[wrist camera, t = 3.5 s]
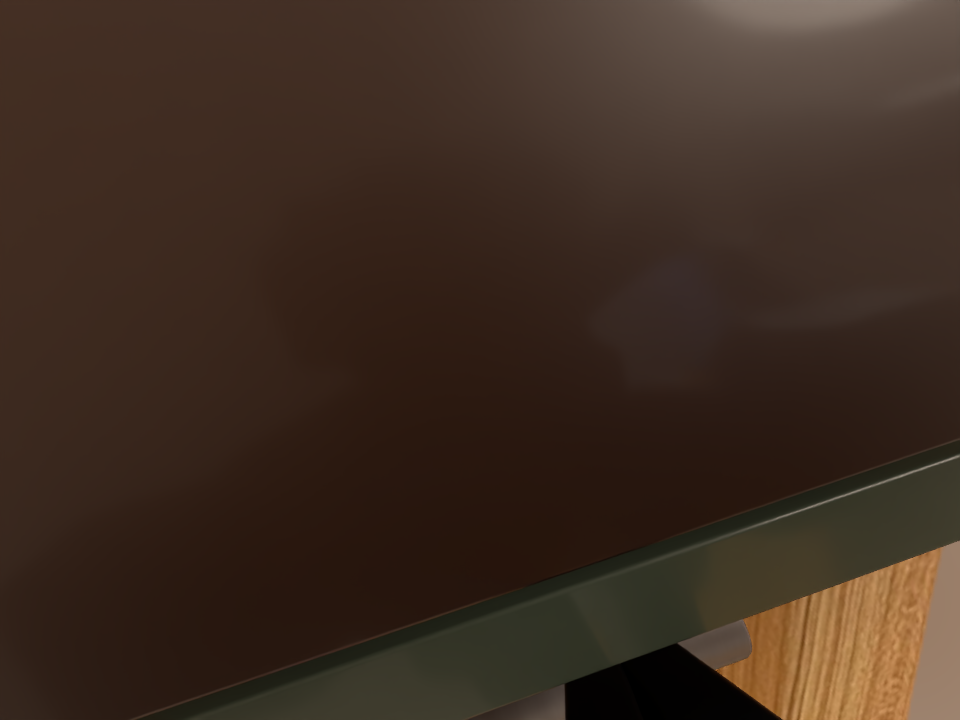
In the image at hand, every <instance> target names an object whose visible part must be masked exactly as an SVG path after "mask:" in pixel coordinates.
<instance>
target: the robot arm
mask: <svg viewBox="0 0 960 720" xmlns="http://www.w3.org/2000/svg"><path fill="white" fill-rule="evenodd" d="M564 692H565V720H782V719H781V718H780V717H778V716H777V715H776V714H774V713H773V712H771V711H770V710H769V709H767V708H766V707H765V706H763V705H762V704H760V703H759V702H758V701H756V700H755V699H754V698H752V697H751V696H749V695H748V694H747V693H745V692H744V691H743V690H741V689H740V688H739V687H737V686H736V685H734V684H733V683H732V682H730V681H729V680H728V679H726V678H725V677H723V676H722V675H721V674H719V673H718V672H717V671H715V670H714V669H712V668H711V667H710V666H708V665H707V664H706V663H704V662H703V661H701V660H700V659H699V658H697V657H696V656H695V655H693V654H692V653H691V652H689V651H688V650H686V649H685V648H684V647H682V646H681V645H680V644H678V643H676V644H673V645H670V646H667V647H665V648H662V649H659V650H656V651H654V652H651V653H648V654H645V655H642V656H640V657H637V658H634V659H631V660H629V661H626V662H623V663H620V664H618V665H615V666H612V667H609V668H607V669H604V670H601V671H598V672H596V673H593V674H590V675H587V676H585V677H582V678H579V679H576V680H574V681H571V682H568V683H565V684H564Z"/></svg>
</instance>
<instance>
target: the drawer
mask: <svg viewBox="0 0 960 720" xmlns="http://www.w3.org/2000/svg"><path fill="white" fill-rule="evenodd" d="M957 541H960V440H958V441H955V442H952V443H949V444H946V445H943V446H940V447H937V448H934V449H931V450H928V451H925V452H922V453H919V454H916V455H913V456H910V457H907V458H905V459H902V460H899V461H896V462H893V463H890V464H887V465H884V466H881V467H878V468H875V469H872V470H869V471H866V472H863V473H860V474H857V475H854V476H852V477H849V478H846V479H843V480H840V481H837V482H834V483H831V484H828V485H825V486H822V487H819V488H816V489H813V490H810V491H807V492H804V493H802V494H799V495H796V496H793V497H790V498H787V499H784V500H781V501H778V502H775V503H772V504H769V505H766V506H763V507H760V508H757V509H754V510H751V511H749V512H746V513H743V514H740V515H737V516H734V517H731V518H728V519H725V520H722V521H719V522H716V523H713V524H710V525H707V526H704V527H701V528H698V529H696V530H693V531H690V532H687V533H684V534H681V535H678V536H675V537H672V538H669V539H666V540H663V541H660V542H657V543H654V544H651V545H648V546H646V547H643V548H640V549H637V550H634V551H631V552H628V553H625V554H622V555H619V556H616V557H613V558H610V559H607V560H604V561H601V562H598V563H595V564H593V565H590V566H587V567H584V568H581V569H578V570H575V571H572V572H569V573H566V574H563V575H560V576H557V577H554V578H551V579H548V580H545V581H542V582H540V583H537V584H534V585H531V586H528V587H525V588H522V589H519V590H516V591H513V592H510V593H507V594H504V595H501V596H498V597H495V598H492V599H490V600H487V601H484V602H481V603H478V604H475V605H472V606H469V607H466V608H463V609H460V610H457V611H454V612H451V613H448V614H445V615H442V616H439V617H437V618H434V619H431V620H428V621H425V622H422V623H419V624H416V625H413V626H410V627H407V628H404V629H401V630H398V631H395V632H392V633H389V634H386V635H384V636H381V637H378V638H375V639H372V640H369V641H366V642H363V643H360V644H357V645H354V646H351V647H348V648H345V649H342V650H339V651H336V652H334V653H331V654H328V655H325V656H322V657H319V658H316V659H313V660H310V661H307V662H304V663H301V664H298V665H295V666H292V667H289V668H286V669H283V670H281V671H278V672H275V673H272V674H269V675H266V676H263V677H260V678H257V679H254V680H251V681H248V682H245V683H242V684H239V685H236V686H233V687H231V688H228V689H225V690H222V691H219V692H216V693H213V694H210V695H207V696H204V697H201V698H198V699H195V700H192V701H189V702H186V703H183V704H180V705H178V706H175V707H172V708H169V709H166V710H163V711H160V712H157V713H154V714H151V715H148V716H145V717H142V718H139V719H136V720H565V692H564V684H565V683H568V682H571V681H574V680H576V679H579V678H582V677H585V676H587V675H590V674H593V673H596V672H598V671H601V670H604V669H607V668H609V667H612V666H615V665H618V664H620V663H623V662H626V661H629V660H631V659H634V658H637V657H640V656H642V655H645V654H648V653H651V652H654V651H656V650H659V649H662V648H665V647H667V646H670V645H673V644H676V643H678V644H680V645H681V646H682V647H684V648H685V649H686V650H688V651H689V652H691V653H692V654H693V655H695V656H696V657H697V658H699V659H700V660H701V661H703V662H704V663H706V664H707V665H708V666H710V667H711V668H712V669H714V670H716V669H719V668H722V667H724V666H727V665H730V664H732V663H735V662H738V661H740V660H743V659H746V658H748V657H749V655H750V654H751V652H752V644H751V639H750V636H749V633H748V630H747V627H746V625H745V623H744V621H743V619H744V618H747V617H750V616H753V615H756V614H758V613H761V612H764V611H767V610H769V609H772V608H775V607H778V606H780V605H783V604H786V603H789V602H791V601H794V600H797V599H800V598H802V597H805V596H808V595H811V594H813V593H816V592H819V591H822V590H824V589H827V588H830V587H833V586H835V585H838V584H841V583H844V582H847V581H849V580H852V579H855V578H858V577H860V576H863V575H866V574H869V573H871V572H874V571H877V570H880V569H882V568H885V567H888V566H891V565H893V564H896V563H899V562H902V561H904V560H907V559H910V558H913V557H915V556H918V555H921V554H924V553H926V552H929V551H932V550H935V549H937V548H940V547H943V546H946V545H949V544H951V543H954V542H957Z"/></svg>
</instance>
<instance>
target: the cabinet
mask: <svg viewBox="0 0 960 720" xmlns="http://www.w3.org/2000/svg"><path fill="white" fill-rule="evenodd" d="M958 440H960V0H0V720H136V719H139V718H142V717H145V716H148V715H151V714H154V713H157V712H160V711H163V710H166V709H169V708H172V707H175V706H178V705H180V704H183V703H186V702H189V701H192V700H195V699H198V698H201V697H204V696H207V695H210V694H213V693H216V692H219V691H222V690H225V689H228V688H231V687H233V686H236V685H239V684H242V683H245V682H248V681H251V680H254V679H257V678H260V677H263V676H266V675H269V674H272V673H275V672H278V671H281V670H283V669H286V668H289V667H292V666H295V665H298V664H301V663H304V662H307V661H310V660H313V659H316V658H319V657H322V656H325V655H328V654H331V653H334V652H336V651H339V650H342V649H345V648H348V647H351V646H354V645H357V644H360V643H363V642H366V641H369V640H372V639H375V638H378V637H381V636H384V635H386V634H389V633H392V632H395V631H398V630H401V629H404V628H407V627H410V626H413V625H416V624H419V623H422V622H425V621H428V620H431V619H434V618H437V617H439V616H442V615H445V614H448V613H451V612H454V611H457V610H460V609H463V608H466V607H469V606H472V605H475V604H478V603H481V602H484V601H487V600H490V599H492V598H495V597H498V596H501V595H504V594H507V593H510V592H513V591H516V590H519V589H522V588H525V587H528V586H531V585H534V584H537V583H540V582H542V581H545V580H548V579H551V578H554V577H557V576H560V575H563V574H566V573H569V572H572V571H575V570H578V569H581V568H584V567H587V566H590V565H593V564H595V563H598V562H601V561H604V560H607V559H610V558H613V557H616V556H619V555H622V554H625V553H628V552H631V551H634V550H637V549H640V548H643V547H646V546H648V545H651V544H654V543H657V542H660V541H663V540H666V539H669V538H672V537H675V536H678V535H681V534H684V533H687V532H690V531H693V530H696V529H698V528H701V527H704V526H707V525H710V524H713V523H716V522H719V521H722V520H725V519H728V518H731V517H734V516H737V515H740V514H743V513H746V512H749V511H751V510H754V509H757V508H760V507H763V506H766V505H769V504H772V503H775V502H778V501H781V500H784V499H787V498H790V497H793V496H796V495H799V494H802V493H804V492H807V491H810V490H813V489H816V488H819V487H822V486H825V485H828V484H831V483H834V482H837V481H840V480H843V479H846V478H849V477H852V476H854V475H857V474H860V473H863V472H866V471H869V470H872V469H875V468H878V467H881V466H884V465H887V464H890V463H893V462H896V461H899V460H902V459H905V458H907V457H910V456H913V455H916V454H919V453H922V452H925V451H928V450H931V449H934V448H937V447H940V446H943V445H946V444H949V443H952V442H955V441H958Z"/></svg>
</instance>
